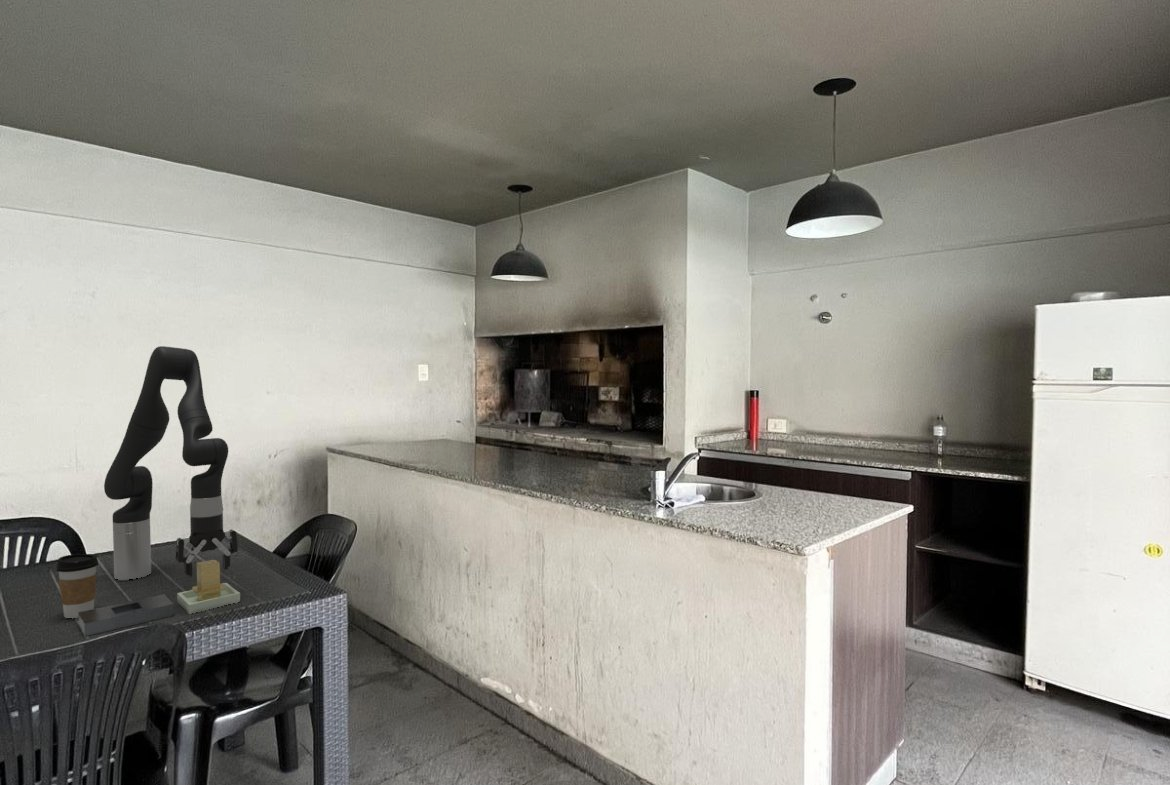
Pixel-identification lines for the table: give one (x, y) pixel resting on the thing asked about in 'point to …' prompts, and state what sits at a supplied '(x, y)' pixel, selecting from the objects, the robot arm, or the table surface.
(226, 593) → the parts tray
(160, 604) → the grey metal block
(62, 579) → the coffee cup
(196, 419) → the robot arm
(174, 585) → the table surface
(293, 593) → the table surface
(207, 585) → the brass plug
